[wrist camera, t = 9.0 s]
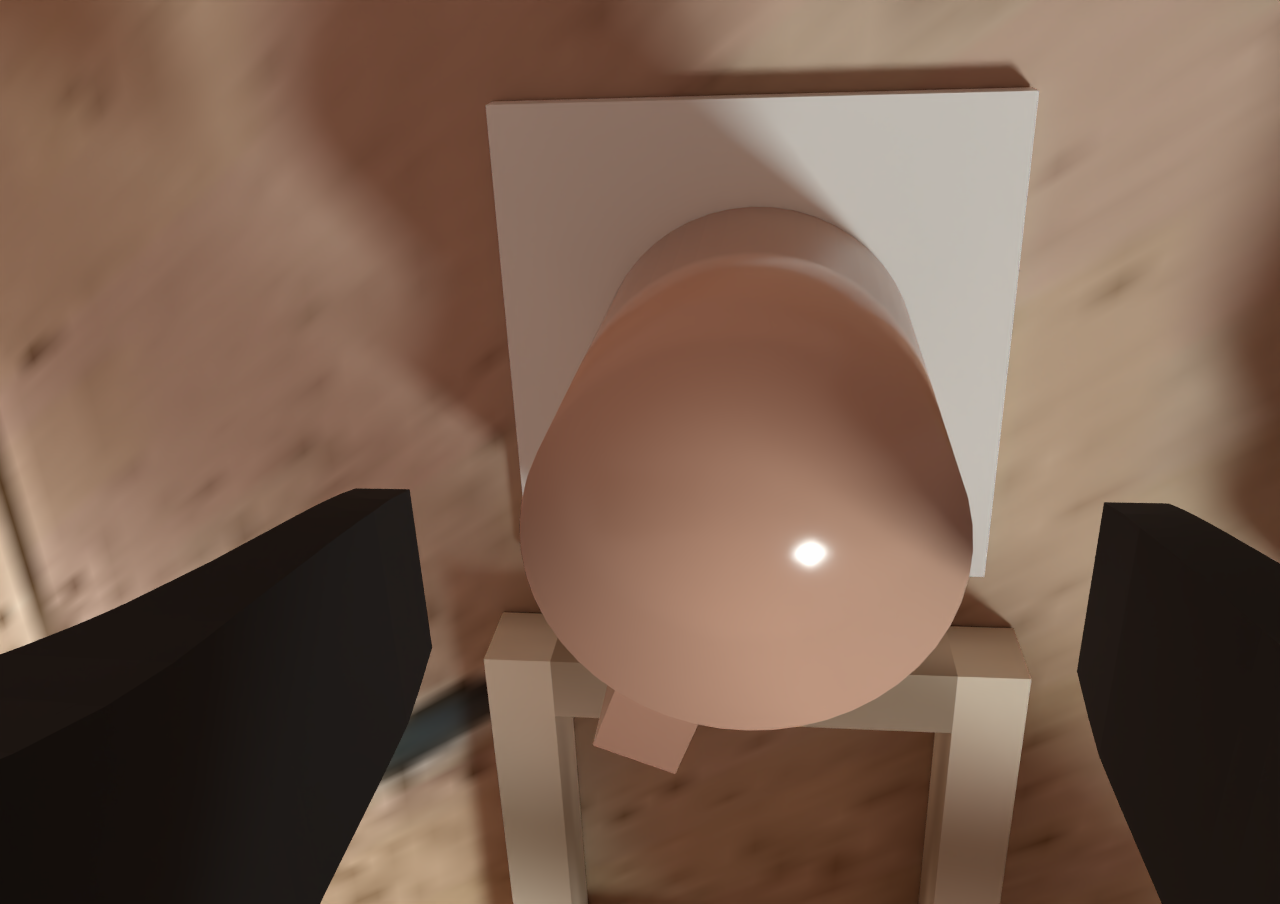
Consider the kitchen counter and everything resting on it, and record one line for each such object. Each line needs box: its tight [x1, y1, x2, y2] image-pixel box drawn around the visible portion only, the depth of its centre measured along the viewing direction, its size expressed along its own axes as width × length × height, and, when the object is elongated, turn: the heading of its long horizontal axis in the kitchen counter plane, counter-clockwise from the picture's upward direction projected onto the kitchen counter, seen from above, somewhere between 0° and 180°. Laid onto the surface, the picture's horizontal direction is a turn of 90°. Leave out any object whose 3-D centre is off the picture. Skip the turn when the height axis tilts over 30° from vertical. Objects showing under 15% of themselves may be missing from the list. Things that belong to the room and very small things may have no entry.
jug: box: [519, 207, 973, 774], centre depth 15 cm, size 5×7×6 cm
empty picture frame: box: [484, 612, 1031, 904], centre depth 21 cm, size 9×9×2 cm
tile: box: [485, 87, 1039, 577], centre depth 18 cm, size 8×8×1 cm
